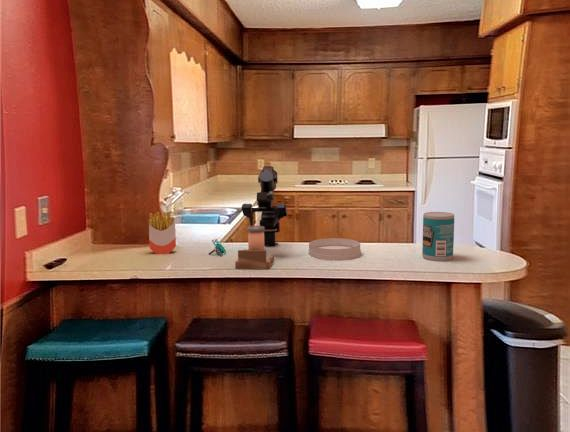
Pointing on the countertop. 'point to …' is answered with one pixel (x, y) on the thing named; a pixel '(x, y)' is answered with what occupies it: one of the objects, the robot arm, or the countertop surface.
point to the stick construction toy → (218, 248)
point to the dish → (334, 249)
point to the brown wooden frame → (253, 259)
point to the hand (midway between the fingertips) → (262, 226)
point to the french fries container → (162, 233)
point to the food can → (438, 236)
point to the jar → (256, 237)
